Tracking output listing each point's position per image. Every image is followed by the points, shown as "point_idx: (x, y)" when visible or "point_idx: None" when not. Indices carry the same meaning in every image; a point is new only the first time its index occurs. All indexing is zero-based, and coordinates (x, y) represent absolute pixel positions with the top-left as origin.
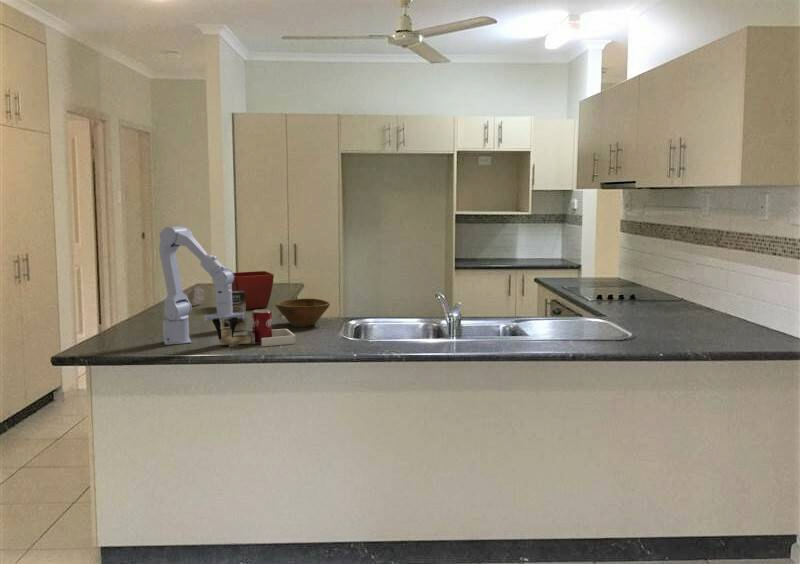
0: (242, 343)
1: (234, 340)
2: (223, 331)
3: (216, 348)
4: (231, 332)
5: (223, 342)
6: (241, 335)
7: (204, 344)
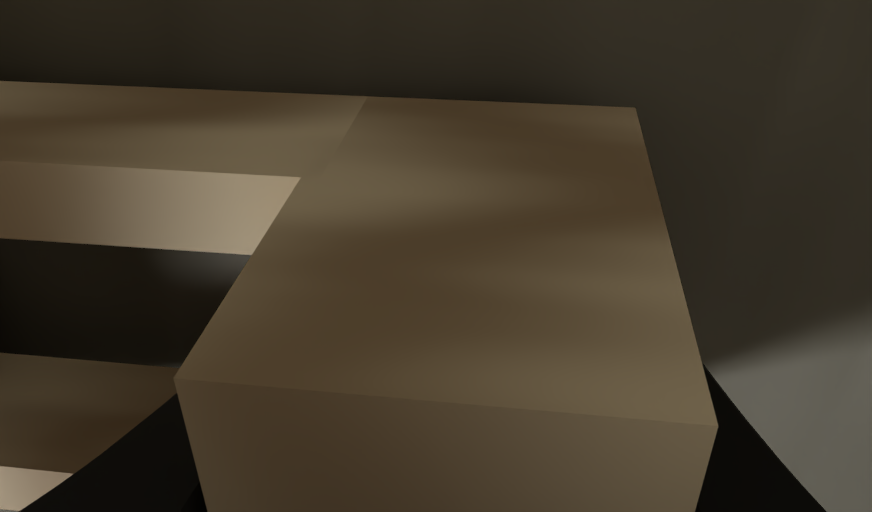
0: (68, 85)
1: (242, 137)
2: (605, 370)
3: (794, 38)
4: (235, 291)
5: (590, 133)
6: (55, 459)
7: (861, 508)
